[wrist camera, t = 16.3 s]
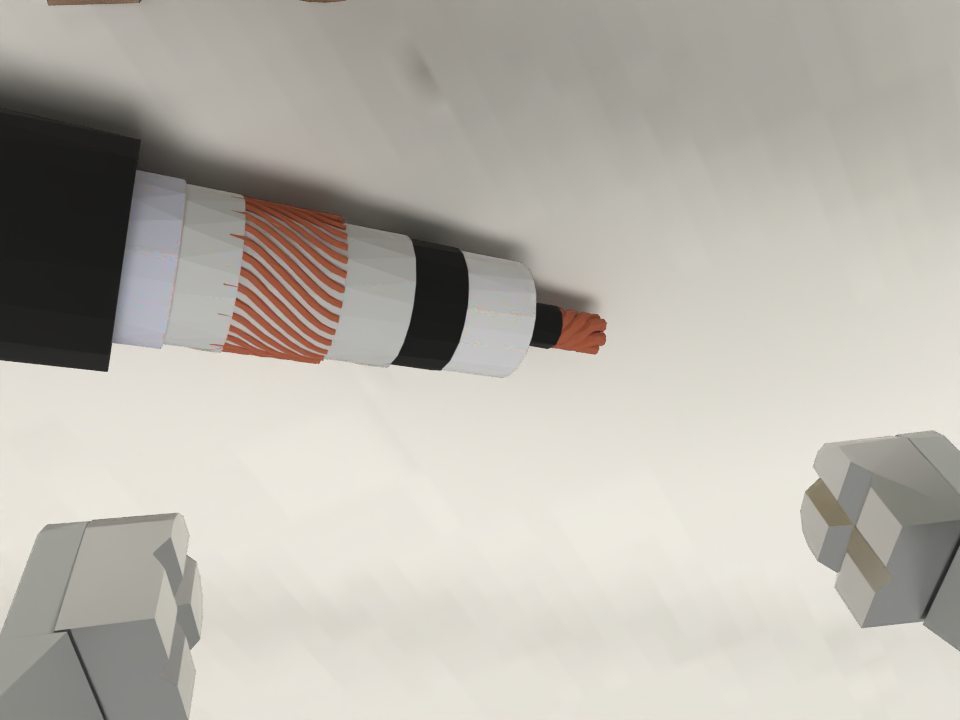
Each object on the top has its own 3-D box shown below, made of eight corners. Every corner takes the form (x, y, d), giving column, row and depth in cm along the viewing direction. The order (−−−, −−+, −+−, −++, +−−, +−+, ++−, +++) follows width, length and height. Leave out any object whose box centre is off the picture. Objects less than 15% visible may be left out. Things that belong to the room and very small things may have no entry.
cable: (542, 302, 52) (562, 454, 47) (-109, 185, 38) (-171, 384, 34) (633, 204, 44) (667, 377, 39) (-149, 15, 30) (-237, 243, 26)
